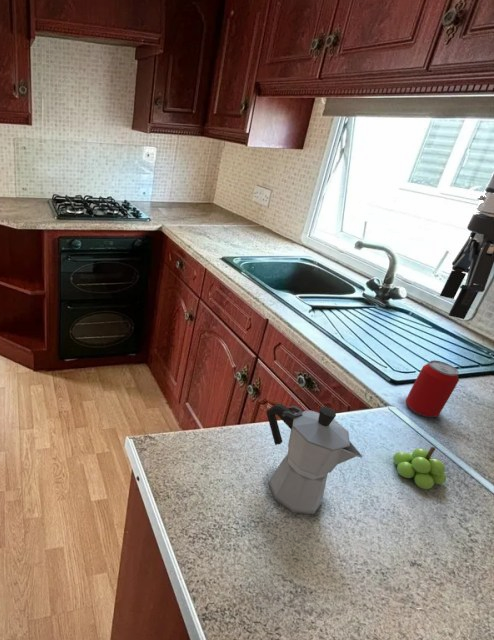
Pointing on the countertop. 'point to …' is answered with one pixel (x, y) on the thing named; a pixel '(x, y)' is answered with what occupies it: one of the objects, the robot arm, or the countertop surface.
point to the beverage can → (432, 388)
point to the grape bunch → (420, 467)
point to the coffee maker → (307, 455)
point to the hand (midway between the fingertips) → (451, 306)
